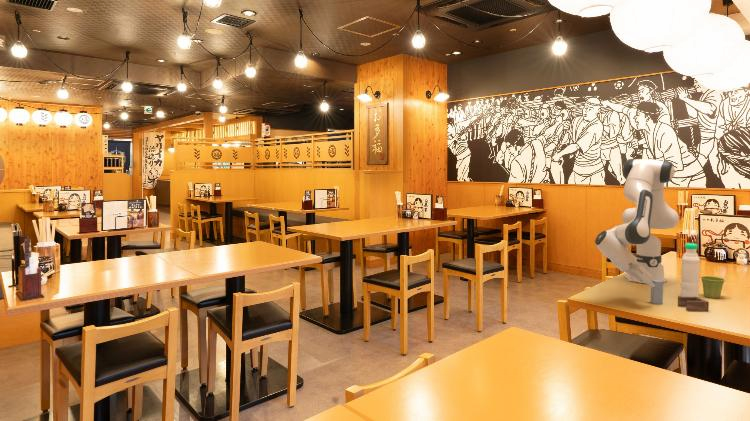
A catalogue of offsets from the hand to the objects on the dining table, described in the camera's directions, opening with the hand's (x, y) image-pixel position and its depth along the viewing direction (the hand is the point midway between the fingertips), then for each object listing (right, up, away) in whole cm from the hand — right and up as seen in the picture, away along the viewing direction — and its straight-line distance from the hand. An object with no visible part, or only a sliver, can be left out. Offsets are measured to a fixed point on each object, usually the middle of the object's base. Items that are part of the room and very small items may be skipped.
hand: (648, 283), depth 211 cm
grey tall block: (+4, -9, 0) cm, 9 cm away
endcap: (+14, -9, -9) cm, 19 cm away
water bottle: (+24, -8, +8) cm, 26 cm away
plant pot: (+35, -8, +9) cm, 37 cm away
